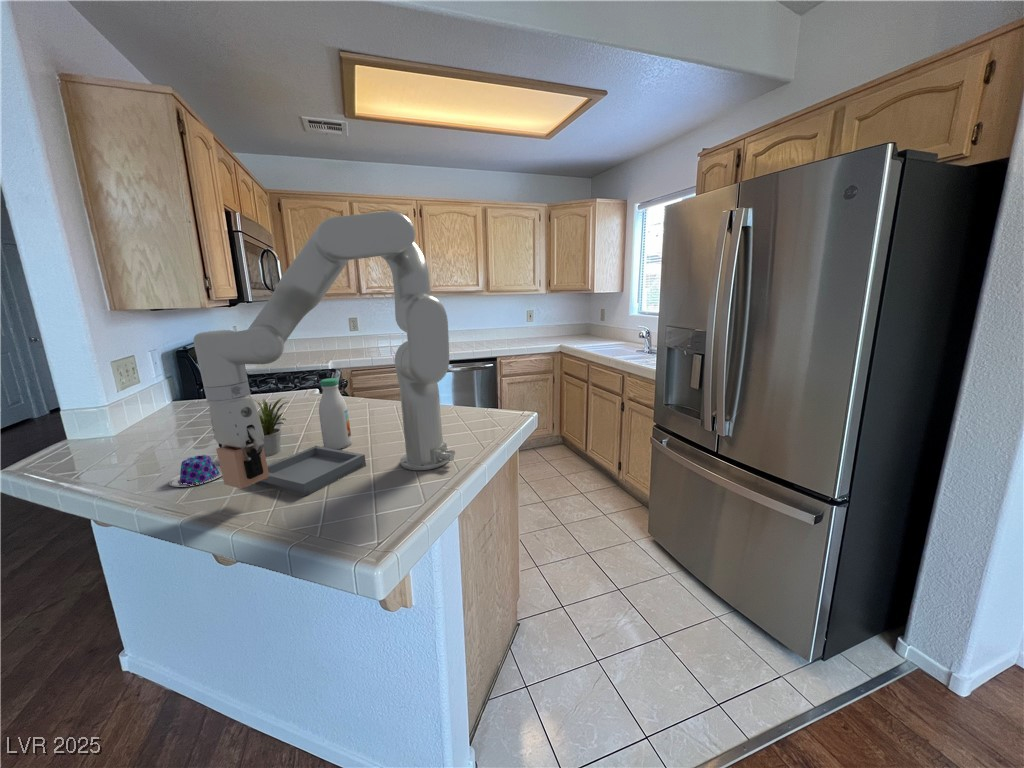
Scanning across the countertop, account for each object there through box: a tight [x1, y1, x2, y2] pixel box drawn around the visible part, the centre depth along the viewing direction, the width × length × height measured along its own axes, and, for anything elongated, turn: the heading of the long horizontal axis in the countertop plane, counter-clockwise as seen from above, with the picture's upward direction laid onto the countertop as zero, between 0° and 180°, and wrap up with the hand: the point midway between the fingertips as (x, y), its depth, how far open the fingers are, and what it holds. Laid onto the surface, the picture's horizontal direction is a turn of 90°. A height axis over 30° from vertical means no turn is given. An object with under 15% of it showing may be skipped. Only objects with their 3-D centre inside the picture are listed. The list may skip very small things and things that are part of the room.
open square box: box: [215, 441, 269, 490], centre depth 89 cm, size 6×6×8 cm
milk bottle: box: [318, 377, 353, 450], centre depth 122 cm, size 8×8×20 cm
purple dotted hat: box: [168, 454, 223, 488], centre depth 105 cm, size 12×12×5 cm
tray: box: [254, 445, 367, 497], centre depth 105 cm, size 18×18×3 cm
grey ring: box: [257, 405, 283, 429], centre depth 134 cm, size 10×4×10 cm, turn 166°
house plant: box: [252, 396, 289, 457], centre depth 120 cm, size 14×14×16 cm
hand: (245, 473), depth 90 cm, fingers closed on open square box, 6 cm apart
